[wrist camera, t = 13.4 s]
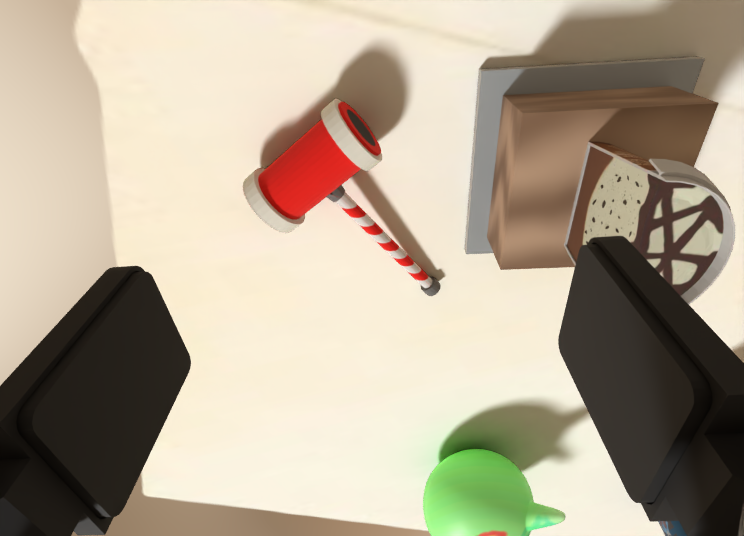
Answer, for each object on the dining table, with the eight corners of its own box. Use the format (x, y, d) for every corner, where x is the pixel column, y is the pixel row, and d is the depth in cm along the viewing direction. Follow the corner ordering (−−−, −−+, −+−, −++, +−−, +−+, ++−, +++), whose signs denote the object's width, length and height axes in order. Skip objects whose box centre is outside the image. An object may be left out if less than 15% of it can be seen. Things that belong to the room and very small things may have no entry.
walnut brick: (502, 95, 36) (522, 113, 31) (671, 86, 35) (718, 102, 31) (486, 237, 44) (500, 269, 39) (624, 231, 43) (656, 263, 38)
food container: (629, 257, 38) (699, 334, 30) (560, 260, 38) (610, 336, 30) (677, 117, 31) (786, 166, 23) (592, 121, 31) (669, 171, 23)
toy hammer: (476, 257, 47) (489, 291, 42) (393, 308, 51) (395, 345, 46) (339, 88, 37) (332, 106, 32) (250, 169, 42) (232, 197, 36)
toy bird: (431, 424, 63) (443, 529, 51) (540, 432, 64) (578, 538, 52) (411, 487, 73) (418, 588, 61) (506, 494, 74) (531, 594, 62)
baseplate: (479, 69, 36) (481, 71, 35) (696, 56, 35) (704, 58, 34) (464, 249, 46) (466, 254, 45) (633, 242, 45) (638, 247, 44)
